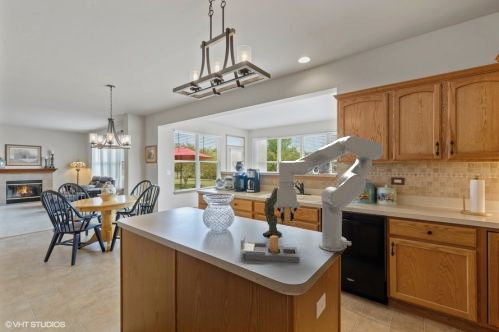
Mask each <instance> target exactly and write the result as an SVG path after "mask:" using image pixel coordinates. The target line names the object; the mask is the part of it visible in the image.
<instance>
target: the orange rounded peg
mask: <svg viewBox="0 0 499 332" xmlns="http://www.w3.org/2000/svg"><path fill="white" fill-rule="evenodd" d="M283 215H284V221H282V222H283V225H288V226H289V225H292V221H291V207H283Z"/></svg>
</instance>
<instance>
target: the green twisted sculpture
mask: <svg viewBox="0 0 499 332" xmlns="http://www.w3.org/2000/svg"><path fill="white" fill-rule="evenodd" d="M278 188H279V187H275V188H273V190H272V192H271V194H270V197H266V200H265V201H264V208H263V211H264V214H265V218H266V223H267V225H268V230H267V231H266V232H263V233H262V236H263V237H264V238H265V237H267V238H270V236H278V238H280V237H283V233H282V232H281V231H280V230H278V227H277V226H278V216H277V215H275V208H274V205H275V203H276V201H277V190H278Z"/></svg>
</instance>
